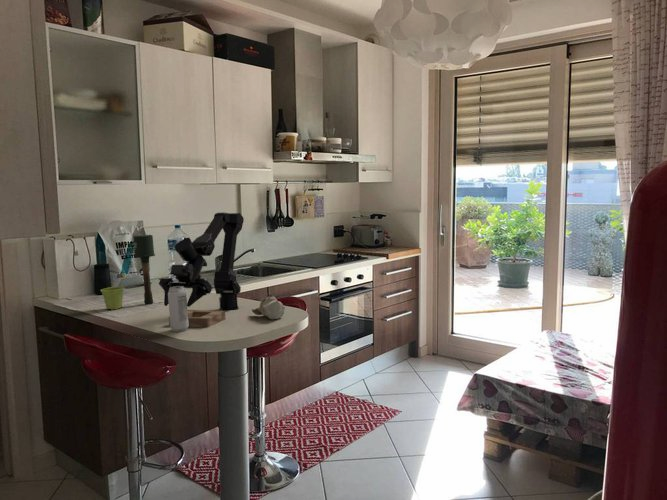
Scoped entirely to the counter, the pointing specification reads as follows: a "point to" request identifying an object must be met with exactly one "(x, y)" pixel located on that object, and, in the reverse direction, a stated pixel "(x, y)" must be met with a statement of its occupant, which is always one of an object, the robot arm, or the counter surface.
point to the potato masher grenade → (145, 261)
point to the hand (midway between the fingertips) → (176, 305)
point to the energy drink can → (178, 308)
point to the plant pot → (113, 297)
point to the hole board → (204, 317)
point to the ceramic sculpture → (270, 308)
